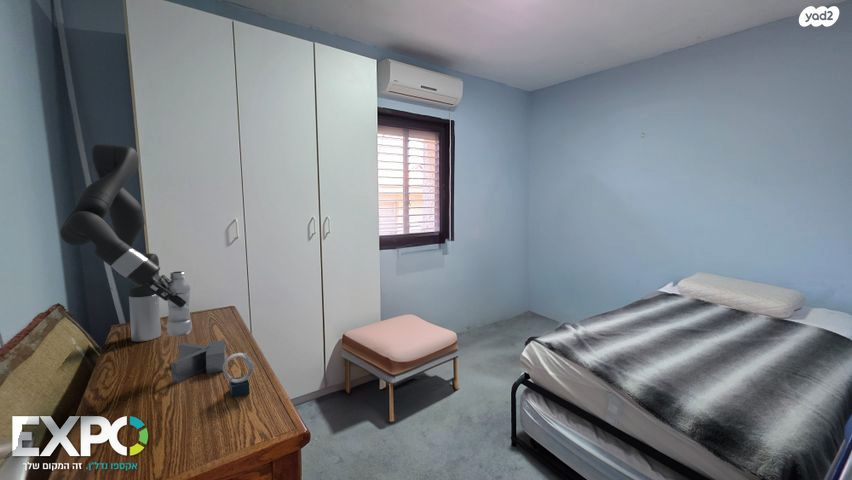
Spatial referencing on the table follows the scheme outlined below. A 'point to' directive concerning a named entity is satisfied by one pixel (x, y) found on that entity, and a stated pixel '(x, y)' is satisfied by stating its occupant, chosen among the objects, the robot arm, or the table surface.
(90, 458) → the table surface
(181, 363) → the v block
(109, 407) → the table surface
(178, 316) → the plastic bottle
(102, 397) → the table surface
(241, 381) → the watch
